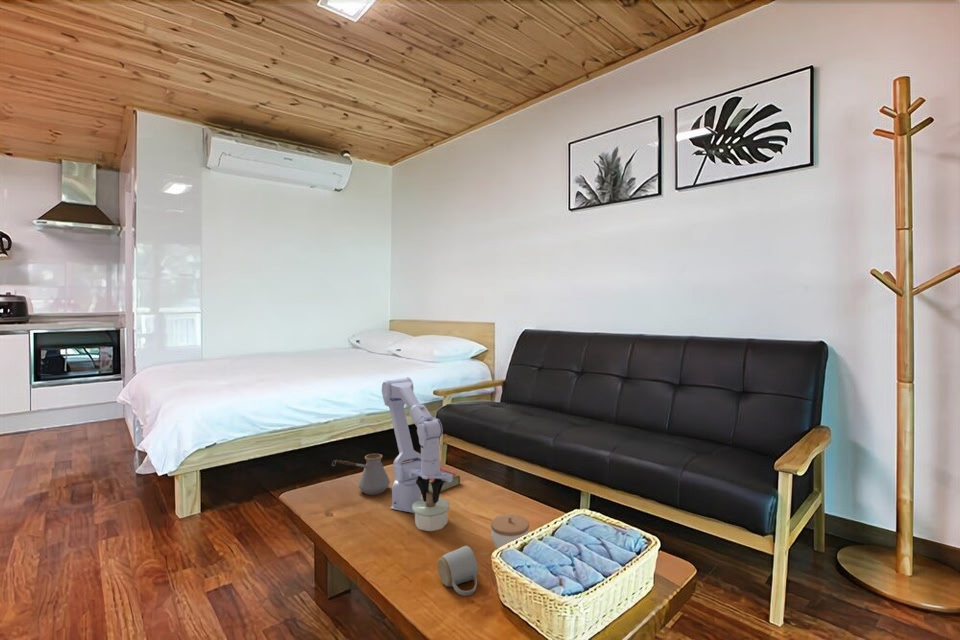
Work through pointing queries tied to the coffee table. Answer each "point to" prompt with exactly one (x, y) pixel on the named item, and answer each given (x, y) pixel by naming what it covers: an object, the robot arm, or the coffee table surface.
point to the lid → (430, 506)
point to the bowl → (431, 521)
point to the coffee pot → (371, 475)
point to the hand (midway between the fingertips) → (430, 501)
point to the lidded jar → (508, 528)
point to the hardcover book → (446, 484)
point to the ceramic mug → (458, 569)
